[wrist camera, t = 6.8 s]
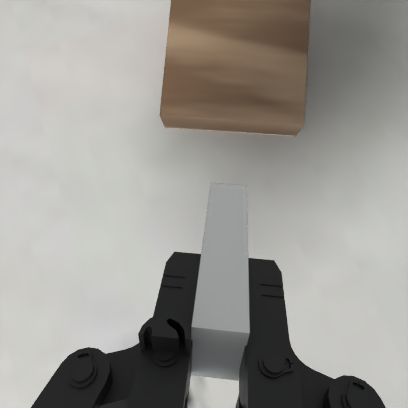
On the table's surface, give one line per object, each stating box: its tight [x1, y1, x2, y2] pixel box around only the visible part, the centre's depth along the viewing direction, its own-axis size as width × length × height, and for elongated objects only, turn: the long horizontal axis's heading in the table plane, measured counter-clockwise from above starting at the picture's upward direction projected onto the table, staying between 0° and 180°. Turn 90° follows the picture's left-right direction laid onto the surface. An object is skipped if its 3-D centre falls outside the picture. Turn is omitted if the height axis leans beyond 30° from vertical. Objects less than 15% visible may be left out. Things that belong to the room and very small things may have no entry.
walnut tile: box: [160, 0, 310, 136], centre depth 25 cm, size 3×10×12 cm
